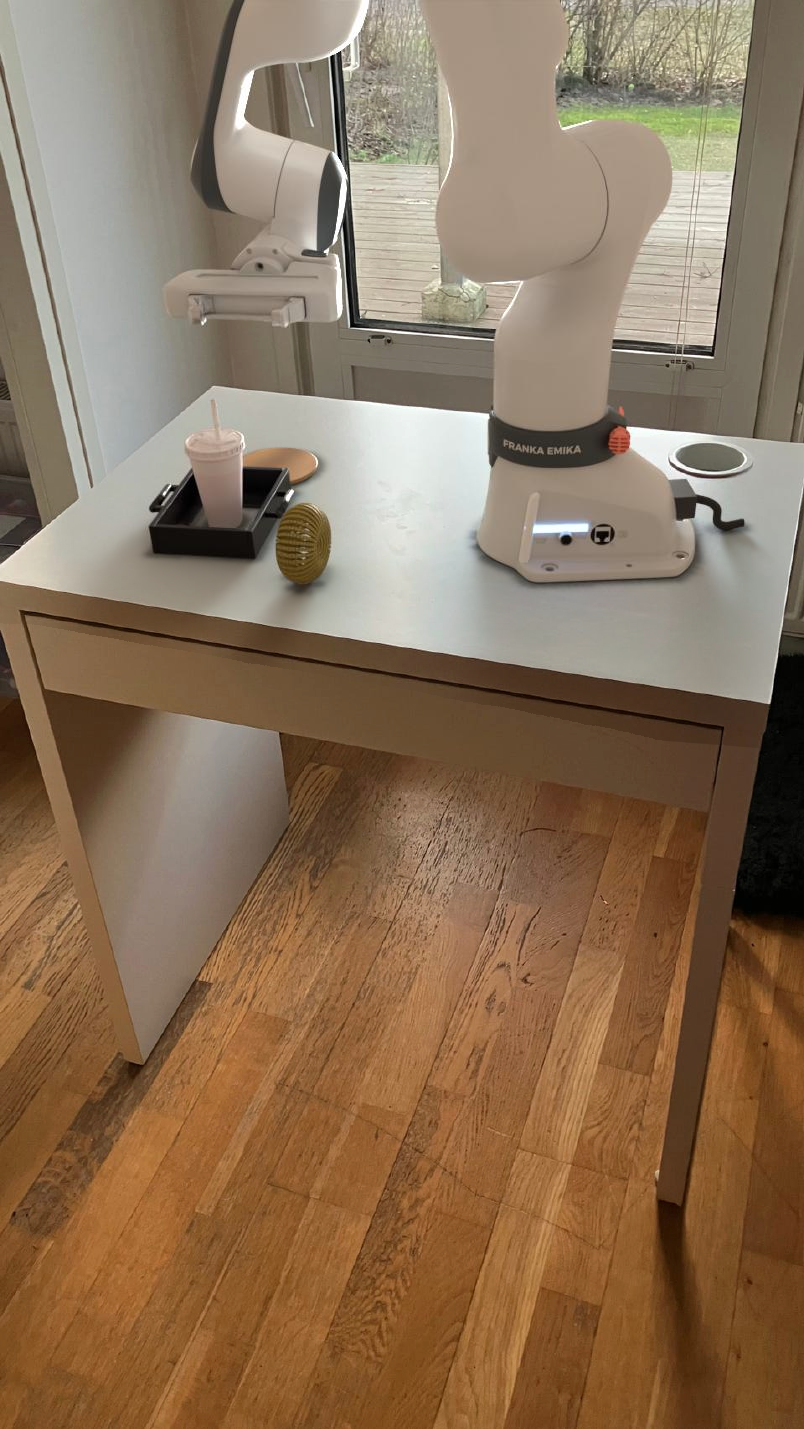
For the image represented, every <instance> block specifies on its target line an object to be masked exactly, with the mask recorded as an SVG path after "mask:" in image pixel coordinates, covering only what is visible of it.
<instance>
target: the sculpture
mask: <svg viewBox="0 0 804 1429" xmlns="http://www.w3.org/2000/svg"><path fill="white" fill-rule="evenodd" d="M331 549H332V528H331V524H330V521H329V518H328V516H327V514H326V513H325V511H323V509H322V508H320V507H319V506H317V505H316V504H313V503H310V502H300V503H297V504H295V505H293V506H291V507H290V508H289V509H288V510H286V511H285V513H284V515H283V516H282V518H281V519H280V522H279V525H278V528H277V532H276V537H275V558H276V564H277V566H278V569H279V570H280V572H281V574H282V575H283V576H284V578H285V579H286V580H288V581H289V582H292V583H293V584H297V585H307V584H311V583H313V582H314V581H316V580H318V579H319V578H320V576H321V575H322V574H323V573H324V571H325V570H326V567H327V565H328V561H329V559H330V554H331Z"/></svg>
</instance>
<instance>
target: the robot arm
mask: <svg viewBox="0 0 804 1429" xmlns="http://www.w3.org/2000/svg"><path fill="white" fill-rule="evenodd" d="M416 1H417V4H418V7H419V9H420V12H421V16H422V18H423V21H424V23H425V26H426V29H427V32H428V36H429V38H430V40H431V44H432V47H433V49H434V50H433V51H434V52H435V55H436V59H437V62H438V65H439V68H440V71H441V74H442V77H443V80H444V84H445V87H446V92H447V96H448V102H449V108H450V117H451V118H450V119H451V136H452V137H451V138H452V139H451V154H450V161H449V167H448V170H447V174H446V175H445V178H444V181H443V183H442V184H441V186H440V189H439V191H438V194H437V198H436V203H435V213H434V215H435V216H434V220H435V221H434V222H435V230H436V235H437V240H438V242H439V245H440V247H441V250H442V252H443V254H444V256H445V257H446V259H447V260H448V262H449V264H450V265H451V267H452V268H453V269H454V270H455V271H456V272H457V273H458V274H460V275H461V276H462V277H463V278H465V279H467V280H469V281H471V282H474V283H478V284H506V283H519V282H520V284H519V286H518V290H517V292H516V293H515V296H514V298H513V300H512V302H511V303H510V304H509V306H508V307H507V308H506V310H505V312H504V313H503V315H501V317H500V319H499V322H498V324H497V326H496V328H495V333H494V337H493V401H492V402H493V403H492V405H491V406H490V409H489V410H490V411H489V413H488V418H487V435H486V436H487V437H486V438H487V440H486V441H487V442H486V443H487V444H486V445H487V456H488V464H489V466H490V471H489V480H488V485H487V486H488V487H487V493H486V499H485V504H484V509H483V512H482V516H481V519H480V523H479V526H478V529H477V531H476V541H477V545H478V546H479V548H480V549H481V550H482V551H483V553H485V554H486V555H487V556H489V557H490V558H492V559H493V560H495V561H497V562H499V563H501V564H503V565H506V566H509V567H510V568H513V569H514V570H516V571H517V573H519V574H520V575H521V577H523V578H525V579H526V580H528V581H529V582H531V583H532V582H533V583H560V582H563V583H564V582H585V581H587V582H588V581H607V580H608V581H609V580H610V581H611V580H633V579H635V580H636V579H655V578H658V579H659V578H674V577H678V576H680V575H682V574H683V573H684V572H685V571H686V570H687V569H688V568H689V567H690V565H691V564H692V563H693V560H694V558H695V554H696V533H695V528H694V525H693V522H692V521H691V519H696V512H697V511H696V509H697V504H699V505H703V506H707V507H709V508H710V509H711V510H712V524H713V526H714V527H716V528H717V529H719V530H721V531H722V530H723V531H730V530H735V529H738V528H744V527H745V521H746V520H745V518H736V519H732V520H728V521H727V520H726V521H724V520H722V515H723V509H722V506H721V504H720V503H719V502H718V501H717V500H715V499H714V498H711V497H709V496H707V495H706V496H705V495H702V494H697V493H696V492H695V490H694V488H693V487H692V485H691V483H690V482H689V481H688V479H687V478H674V479H673V478H672V479H669V478H668V477H667V475H666V473H665V472H664V471H663V470H662V469H661V468H659V467H658V466H656V465H655V464H654V463H652V462H651V461H650V460H648V459H646V458H645V457H644V456H642V455H641V454H640V453H639V452H637V451H636V450H634V448H632V447H631V434H630V431H629V430H628V429H627V428H628V426H627V425H628V424H627V420H628V419H627V418H626V417H625V411H624V409H623V406H621V405H620V406H619V411H617V410H616V409H615V408H613V407H612V406H610V405H609V404H608V397H609V383H610V372H611V371H610V370H611V362H612V361H611V360H612V351H613V341H614V336H615V329H616V325H617V320H618V317H619V314H620V309H621V306H622V304H623V303H622V302H623V299H624V296H625V293H626V290H627V288H628V284H629V281H630V278H631V275H632V273H633V269H634V266H635V264H636V262H637V258H638V256H639V253H640V251H641V249H642V246H643V244H644V242H645V239H646V238H647V236H648V234H649V232H650V231H651V229H652V227H653V226H654V225H655V223H656V222H657V220H658V219H659V218H660V216H661V215H662V214H663V212H664V211H665V208H666V207H667V205H668V202H669V200H670V196H671V193H672V190H673V189H672V188H673V167H672V163H671V161H672V160H671V158H670V155H669V151H668V149H667V147H666V145H665V143H664V142H663V141H662V139H661V138H660V137H659V135H658V134H657V133H656V132H655V131H654V130H652V129H651V128H650V127H648V126H647V125H645V124H642V123H640V122H635V121H629V120H621V119H603V118H600V119H598V118H597V119H592V120H589V121H585V122H582V123H578V124H574V125H570V126H566V127H563V126H562V125H561V122H560V119H559V113H558V108H557V107H558V106H557V99H556V98H557V97H556V78H557V69H558V67H559V66H560V64H561V62H562V61H563V59H564V57H565V54H566V52H567V50H568V47H569V46H568V45H569V40H570V32H569V24H568V21H567V18H566V15H565V13H564V10H563V7H562V3H561V1H560V0H416ZM369 2H370V0H233V1H232V2H231V4H230V6H229V9H228V11H227V13H226V16H225V19H224V22H223V24H222V30H221V33H220V38H219V41H218V46H217V50H216V55H215V59H214V63H213V68H212V74H211V77H210V83H209V88H208V89H209V90H208V94H207V98H206V103H205V108H204V112H203V117H202V123H201V127H200V131H199V135H198V138H197V140H196V143H195V145H194V148H193V151H192V155H191V159H190V160H191V161H190V182H191V185H192V187H193V189H194V191H195V192H196V194H197V195H198V197H199V198H200V200H201V202H203V203H204V205H205V206H206V208H208V209H210V210H213V211H219V212H224V213H228V214H234V215H241V216H244V217H247V218H250V219H254V220H257V221H260V222H263V223H267V224H268V225H266V226H265V227H264V228H263V229H262V230H261V231H260V232H259V233H258V234H257V235H256V236H255V238H254V239H252V241H250V242H249V243H248V244H247V245H246V246H245V247H244V248H243V249H242V250H241V251H240V253H239V254H237V256H236V257H235V258H234V260H233V262H232V264H231V266H230V269H210V268H209V269H204V268H203V269H201V268H199V269H190V270H187V271H184V272H182V273H179V274H178V275H176V276H175V277H173V278H172V279H170V280H169V281H168V282H166V283H165V284H164V286H163V301H164V307H165V311H166V313H167V315H168V316H169V317H170V318H173V319H187V321H188V324H189V326H204V324H205V323H206V322H207V320H227V321H228V320H229V321H230V320H231V321H261V322H266V323H271V327H272V328H279V329H285V328H287V327H288V326H289V324H290V325H291V324H294V323H297V322H298V323H299V322H302V323H332V322H336V321H338V320H339V319H340V318H341V316H342V313H343V297H342V296H343V295H342V294H343V293H342V277H341V274H342V273H341V267H340V261H339V257H338V254H335V253H331V252H329V249H330V248H331V247H332V246H333V245H334V244H335V243H336V242H337V240H338V238H339V236H340V234H341V231H342V229H343V226H344V223H345V218H346V214H347V209H348V203H349V193H350V192H349V191H350V184H349V179H348V177H347V174H346V171H345V169H344V167H343V164H342V162H341V160H340V159H339V157H338V156H337V154H336V153H335V152H334V151H331V150H329V149H327V148H323V147H320V146H317V145H314V144H311V143H308V142H304V141H301V140H297V139H291V138H289V137H285V136H282V135H279V134H275V133H273V132H269V131H267V130H263V129H261V128H257V127H255V126H253V125H252V124H251V123H250V122H248V121H247V120H246V119H245V117H244V114H245V110H246V105H247V103H248V102H247V101H248V97H249V93H250V89H251V85H252V80H253V75H254V72H255V71H256V70H258V69H261V68H265V67H270V66H275V65H281V64H297V63H299V64H301V63H302V64H303V63H304V64H305V63H311V62H316V61H320V60H323V59H326V58H329V57H331V56H332V55H335V54H336V53H338V52H340V51H341V50H343V49H344V48H345V47H346V46H348V45H349V44H350V43H351V42H352V41H353V40H354V39H355V37H356V36H357V35H358V33H359V32H360V30H361V28H362V26H363V24H364V21H365V18H366V14H367V11H368V10H367V9H368V6H369Z"/></svg>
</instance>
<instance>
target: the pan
mask: <svg viewBox="0 0 804 1429" xmlns="http://www.w3.org/2000/svg"><path fill="white" fill-rule="evenodd" d="M171 493H172V494H171ZM170 494H171V495H170ZM294 496H295V491H294V490H293V489H292V484H290V474H289V468H269V467H245V466H242V509H243V508H245V509H246V508H247V509H258V511H257V513H256V514H255V516H254V518H253V520H252V522H251V523H250V525H249V527H248V528H240V527H239V528H238V527H236V528H221V527H209V526H200V525H199V526H198V525H192V523H193V521H194V520H195V519H196V517H197V516H198V514H199V513H200V511H201V509H202V508H204V507H203V504H202V501H201V497H200V494H199V490H198V487H197V483H196V480H195V476H194V473H193V469H192V467H191V468H190V469H189V470H188V472H187V473H186V475H185V476H184V477H183V479H181V481H180V483H179V484H170V483H167V484H165V485H164V486H163V488H162V489H161V490H160V492H159V493H158V494H157V495H156V497H155V498H154V500H153V501H152V502H151V504H150V505H149V506H148V510H149V512H150V513H152V514H155V513H157V514H156V516H155V517H154V518H153V520H151V522H150V524H149V525H148V531H149V537H150V543H151V547H152V553H153V554H161V555H178V556H195V557H196V556H198V557H213V558H214V557H215V558H234V559H250V560H252V559H253V560H255V559H256V558H257V557H258V555H259V553H260V551H261V549H263V548H262V547H263V546H264V544H265V542H266V540H267V539H268V537H269V535H270V534H271V532H272V530H273V529H274V527H275V524H276V522H277V521H278V520H282V518H283V516H284V514H285V513H286V512H287V509H288V507H289V506H290V503H291V502H292V500H293V498H294ZM168 497H169V498H168ZM167 498H168V499H167ZM164 502H165V503H164ZM163 503H164V504H163Z"/></svg>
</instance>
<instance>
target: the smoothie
mask: <svg viewBox="0 0 804 1429" xmlns="http://www.w3.org/2000/svg"><path fill="white" fill-rule="evenodd" d="M217 404H218V403H217V399H216V398H215V399H210V406H211V414H212V421H213V422H212V423H213V428H206V429H201V430H198V431H196V432H193V433H191V434H190V435H188V436H187V437H186V438H185V439H184V441H183V447H184V449H183V450H184V451H183V452H184V454H185V455H186V456H187V457H188V459H189V462H190V465H191V468H192V469H193V473H194V476H195V480H196V483H197V487H198V490H199V494H200V497H201V501H202V504H203V507H202V508H203V511H204V514H205V518H206V522H207V525H208V527H221V528H238V527H240V526H241V524H242V523H243V508H242V457H243V451H244V450H245V447H246V444H245V439H244V435H243V434H242V432H239V431H238V430H235V429H232V428H223V427H220V420H219V411H218V405H217Z"/></svg>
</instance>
